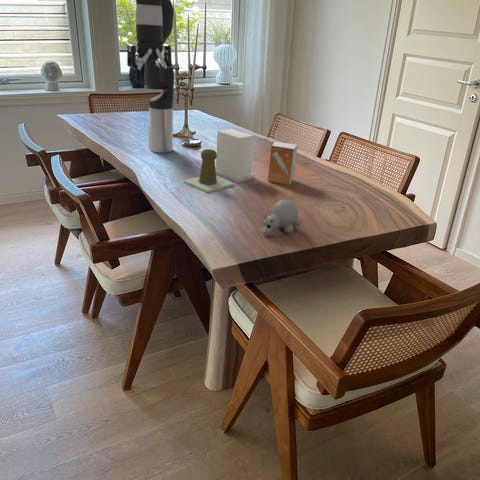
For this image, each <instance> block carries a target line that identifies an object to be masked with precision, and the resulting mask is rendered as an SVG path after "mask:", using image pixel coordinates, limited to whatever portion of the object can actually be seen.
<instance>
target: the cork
mask: <svg viewBox="0 0 480 480" xmlns="http://www.w3.org/2000/svg"><path fill="white" fill-rule="evenodd" d="M200 157H201V158H200V159H201V160H202V161H201V165H200V172H199V173H200V175H199V177H200V178H199V183H201V184H204V185H213V184H216V183H217V179H216V176H217V175H216V157H217V150H216V151H215V150H214V149H211V148H207V149H203V150H202V151H201V152H200Z"/></svg>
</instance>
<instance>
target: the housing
mask: <svg viewBox="0 0 480 480" xmlns="http://www.w3.org/2000/svg"><path fill="white" fill-rule="evenodd" d="M216 133H217V134H216V135H217V137H216V154H217V157H216V159H215V168H216V176H218V177H220V178H221V177H222V178H223V179H225V180H229V181H230V182H231V181H232V182H234V183H237V184H238V183H240V182H245V181H248V180H252V179H255V176H256V175H255V174H254V173H252V170H253V169H252V168H253V167H252V166H253V156H254V155H253V154H254V142H255V135H253V134H251V133H248V132H247V133H246V132H244V131H240V130H237V129H234V128H230V129H229V128H228V129H222V130H217V131H216Z"/></svg>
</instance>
